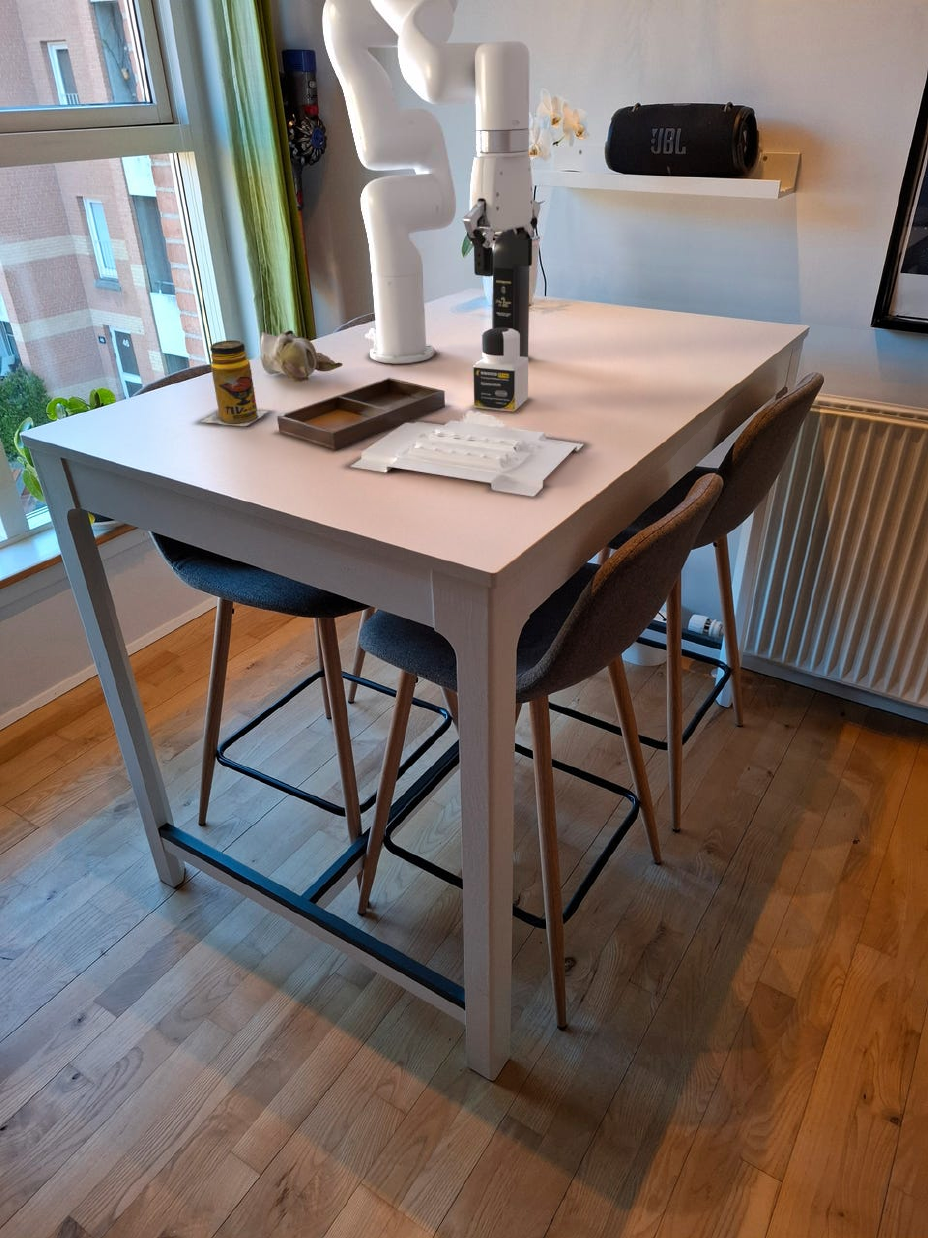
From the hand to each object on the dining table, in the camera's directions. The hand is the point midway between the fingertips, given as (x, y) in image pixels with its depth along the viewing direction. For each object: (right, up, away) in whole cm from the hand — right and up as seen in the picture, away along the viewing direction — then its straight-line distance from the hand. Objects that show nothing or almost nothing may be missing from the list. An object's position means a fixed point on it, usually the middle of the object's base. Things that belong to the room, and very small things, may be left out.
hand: (503, 270), depth 136 cm
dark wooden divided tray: (-22, -22, +6) cm, 32 cm away
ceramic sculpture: (-37, -9, +27) cm, 47 cm away
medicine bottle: (0, -18, +11) cm, 21 cm away
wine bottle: (+3, -4, +34) cm, 34 cm away
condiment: (-44, -21, +9) cm, 49 cm away
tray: (-5, -30, -8) cm, 32 cm away
